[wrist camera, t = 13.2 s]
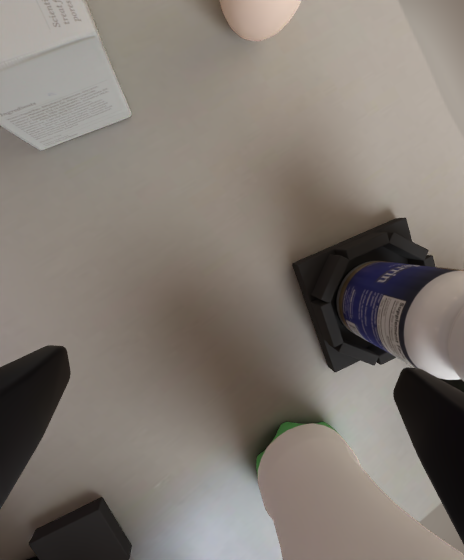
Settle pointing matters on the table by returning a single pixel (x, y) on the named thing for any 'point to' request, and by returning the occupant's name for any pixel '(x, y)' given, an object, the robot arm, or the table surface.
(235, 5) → the egg
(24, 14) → the white cardboard box
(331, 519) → the cup
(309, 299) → the foot pad
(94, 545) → the base pad
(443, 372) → the pill bottle
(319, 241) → the table surface
